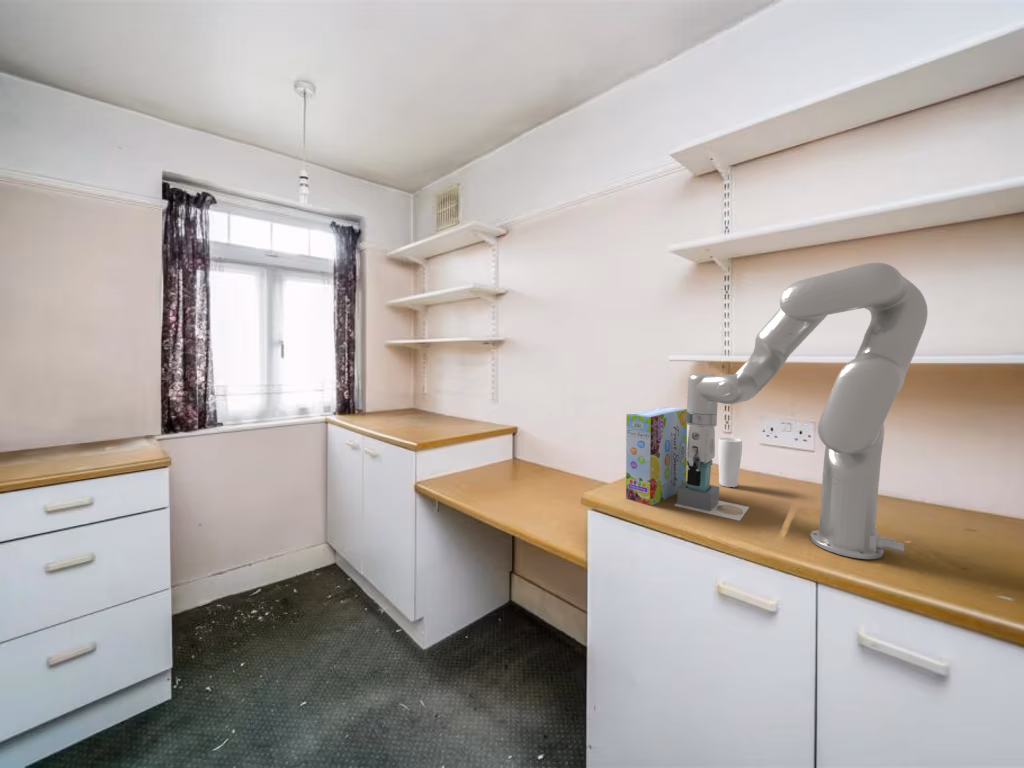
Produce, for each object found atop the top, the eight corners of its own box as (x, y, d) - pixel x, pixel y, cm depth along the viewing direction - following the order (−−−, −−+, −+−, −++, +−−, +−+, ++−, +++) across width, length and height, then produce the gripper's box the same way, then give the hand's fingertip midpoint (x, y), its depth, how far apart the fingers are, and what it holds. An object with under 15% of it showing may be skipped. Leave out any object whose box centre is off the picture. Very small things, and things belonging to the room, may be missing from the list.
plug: (710, 502, 116) (712, 460, 115) (705, 508, 112) (707, 464, 111) (691, 498, 120) (692, 457, 119) (685, 503, 115) (687, 460, 115)
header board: (749, 510, 113) (750, 490, 113) (739, 524, 104) (740, 502, 104) (687, 497, 123) (688, 479, 123) (673, 508, 114) (674, 489, 114)
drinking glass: (741, 484, 136) (743, 438, 134) (738, 490, 130) (741, 442, 129) (718, 480, 139) (720, 436, 138) (714, 486, 134) (716, 439, 133)
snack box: (660, 485, 134) (663, 405, 132) (687, 492, 128) (690, 408, 126) (622, 501, 120) (625, 412, 118) (650, 509, 113) (653, 415, 111)
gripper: (707, 424, 105) (704, 491, 106) (724, 416, 118) (721, 476, 120) (676, 421, 110) (674, 485, 111) (696, 414, 123) (694, 471, 124)
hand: (698, 480), depth 115 cm, fingers open, 9 cm apart
